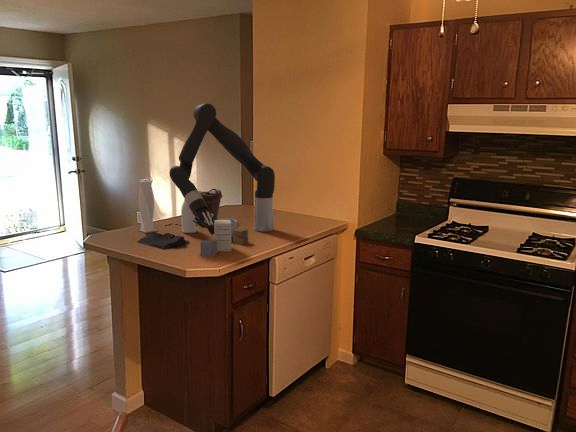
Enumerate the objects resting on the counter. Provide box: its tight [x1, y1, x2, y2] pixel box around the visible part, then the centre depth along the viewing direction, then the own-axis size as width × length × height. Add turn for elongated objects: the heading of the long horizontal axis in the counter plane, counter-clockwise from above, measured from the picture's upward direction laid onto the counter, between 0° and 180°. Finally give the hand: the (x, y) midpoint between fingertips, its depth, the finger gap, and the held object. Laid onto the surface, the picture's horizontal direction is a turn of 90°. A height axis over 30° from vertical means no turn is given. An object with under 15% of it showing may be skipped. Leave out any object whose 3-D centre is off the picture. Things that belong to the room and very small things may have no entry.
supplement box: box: [213, 219, 232, 252], centre depth 220 cm, size 7×7×13 cm
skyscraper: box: [138, 176, 159, 234], centre depth 248 cm, size 8×8×28 cm
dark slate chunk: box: [137, 232, 191, 250], centre depth 229 cm, size 15×22×5 cm
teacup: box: [217, 218, 238, 238], centre depth 243 cm, size 14×11×8 cm
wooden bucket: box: [198, 188, 223, 220], centre depth 278 cm, size 18×20×18 cm
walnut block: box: [232, 227, 249, 245], centre depth 233 cm, size 5×5×6 cm
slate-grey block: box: [199, 239, 218, 258], centre depth 212 cm, size 5×5×6 cm
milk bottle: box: [180, 198, 198, 234], centre depth 250 cm, size 8×8×20 cm
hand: (214, 233), depth 223 cm, fingers closed
